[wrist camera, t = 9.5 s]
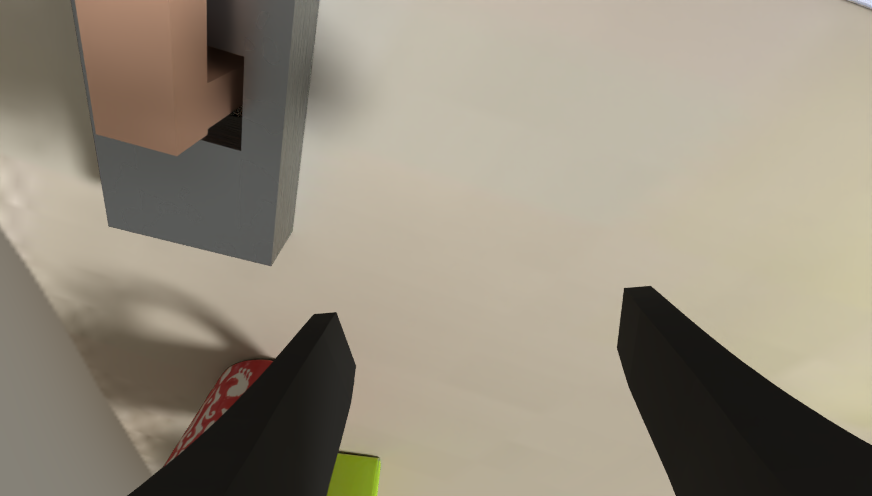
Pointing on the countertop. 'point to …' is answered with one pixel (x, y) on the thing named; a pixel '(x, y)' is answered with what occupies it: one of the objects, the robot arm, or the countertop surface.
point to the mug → (221, 399)
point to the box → (354, 476)
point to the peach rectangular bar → (156, 72)
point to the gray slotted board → (226, 144)
